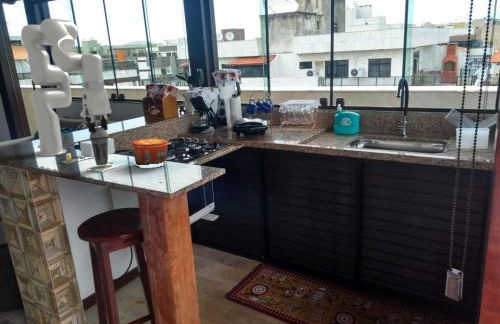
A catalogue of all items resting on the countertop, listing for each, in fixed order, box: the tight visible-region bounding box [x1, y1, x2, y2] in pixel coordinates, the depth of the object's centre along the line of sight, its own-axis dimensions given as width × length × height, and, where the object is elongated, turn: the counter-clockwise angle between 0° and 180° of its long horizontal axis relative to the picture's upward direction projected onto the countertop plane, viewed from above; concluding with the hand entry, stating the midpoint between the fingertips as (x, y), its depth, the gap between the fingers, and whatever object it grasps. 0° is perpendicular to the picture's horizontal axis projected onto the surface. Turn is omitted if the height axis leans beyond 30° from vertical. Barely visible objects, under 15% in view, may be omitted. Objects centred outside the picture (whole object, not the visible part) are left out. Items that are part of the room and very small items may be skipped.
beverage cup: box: [89, 116, 109, 166], centre depth 152 cm, size 7×7×20 cm
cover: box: [79, 137, 116, 157], centre depth 179 cm, size 7×14×7 cm, turn 153°
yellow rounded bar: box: [60, 152, 85, 165], centre depth 168 cm, size 5×12×4 cm, turn 153°
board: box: [86, 160, 114, 171], centre depth 158 cm, size 8×18×1 cm, turn 153°
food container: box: [130, 137, 170, 165], centre depth 160 cm, size 16×16×11 cm
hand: (98, 130), depth 151 cm, fingers closed on beverage cup, 5 cm apart
